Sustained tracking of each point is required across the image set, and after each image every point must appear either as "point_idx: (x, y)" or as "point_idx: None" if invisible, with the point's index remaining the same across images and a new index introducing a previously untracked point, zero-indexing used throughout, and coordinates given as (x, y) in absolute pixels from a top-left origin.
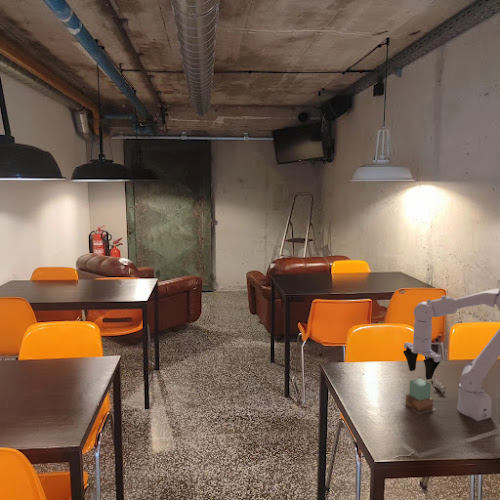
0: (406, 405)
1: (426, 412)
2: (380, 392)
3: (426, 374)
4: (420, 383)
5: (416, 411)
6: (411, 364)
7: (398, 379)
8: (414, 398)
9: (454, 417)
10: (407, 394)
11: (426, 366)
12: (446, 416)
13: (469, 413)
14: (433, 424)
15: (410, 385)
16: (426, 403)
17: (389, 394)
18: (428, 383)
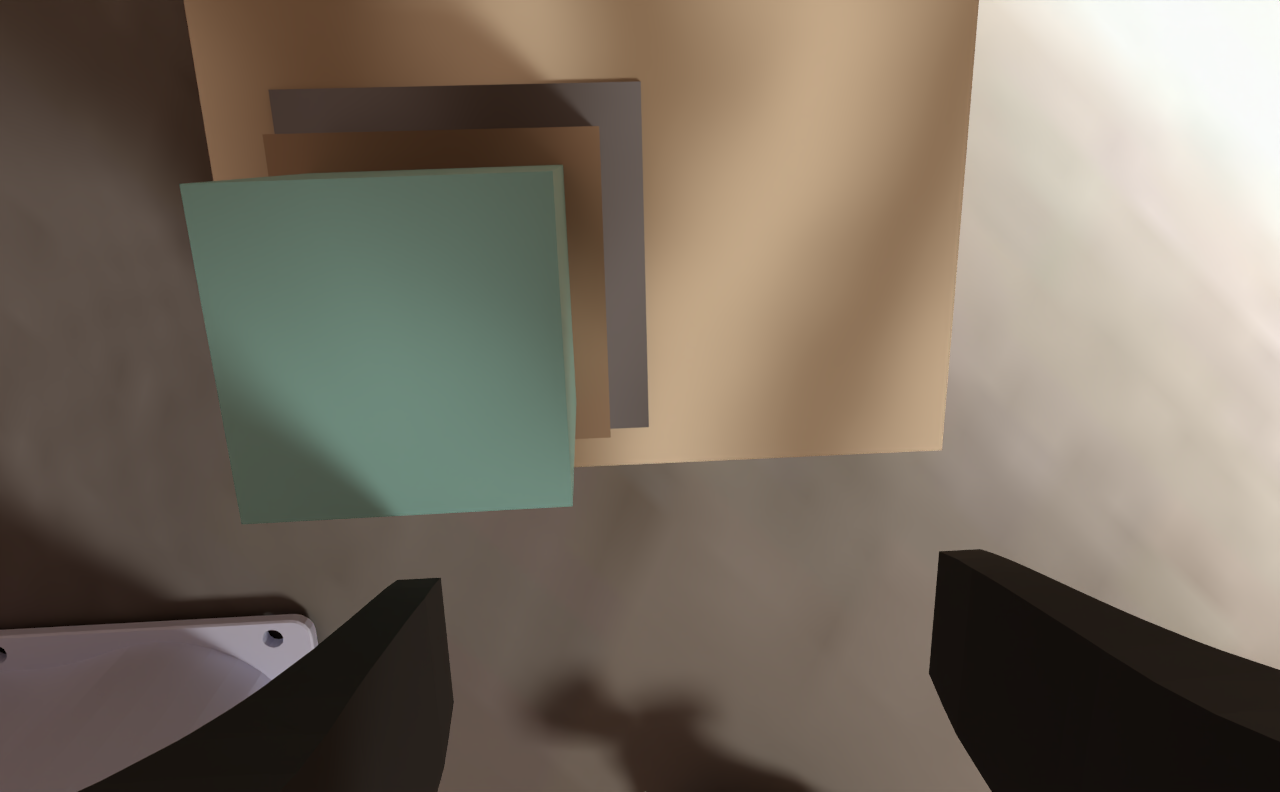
0: (561, 112)
1: None
2: (1096, 93)
3: (366, 624)
4: (337, 317)
5: (353, 116)
6: (1032, 673)
7: (1236, 606)
8: (414, 151)
9: (154, 527)
10: (590, 148)
11: (215, 776)
12: (201, 456)
13: (32, 696)
14: (49, 133)
15: (532, 169)
16: None
17: (984, 179)
18: (280, 495)
